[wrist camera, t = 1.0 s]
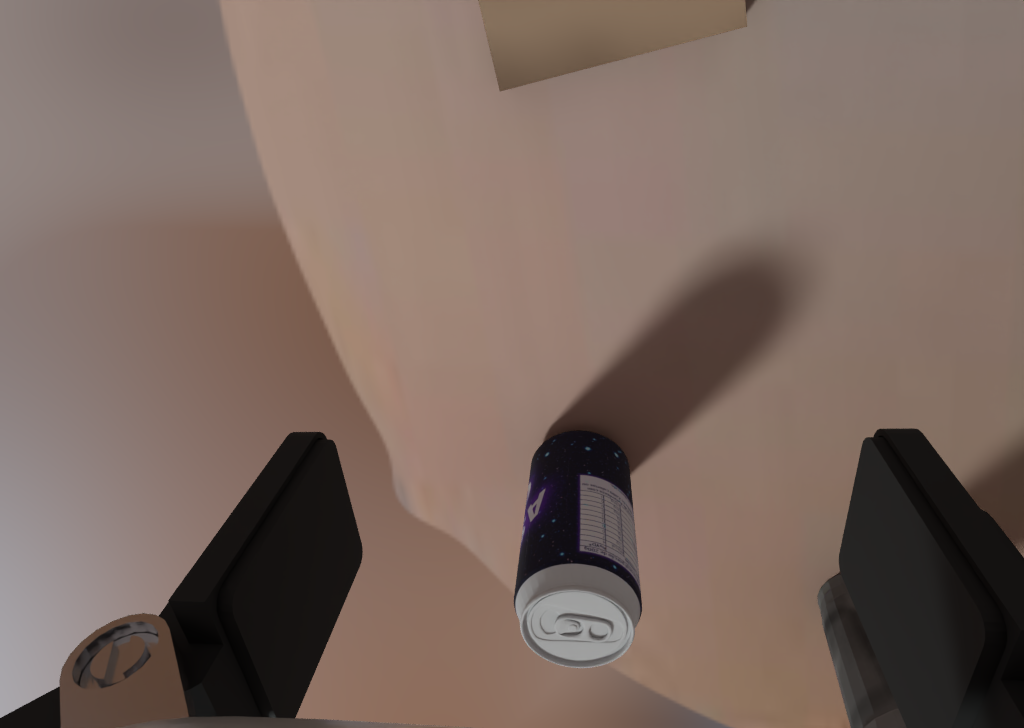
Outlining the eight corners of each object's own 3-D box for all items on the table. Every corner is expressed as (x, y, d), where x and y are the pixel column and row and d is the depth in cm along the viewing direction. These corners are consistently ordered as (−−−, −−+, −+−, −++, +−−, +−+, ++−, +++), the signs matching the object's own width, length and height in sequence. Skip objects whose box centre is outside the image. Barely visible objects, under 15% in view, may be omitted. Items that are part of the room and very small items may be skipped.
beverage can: (536, 416, 37) (516, 574, 26) (635, 427, 37) (655, 593, 26) (528, 493, 40) (506, 664, 29) (620, 505, 39) (632, 682, 29)
